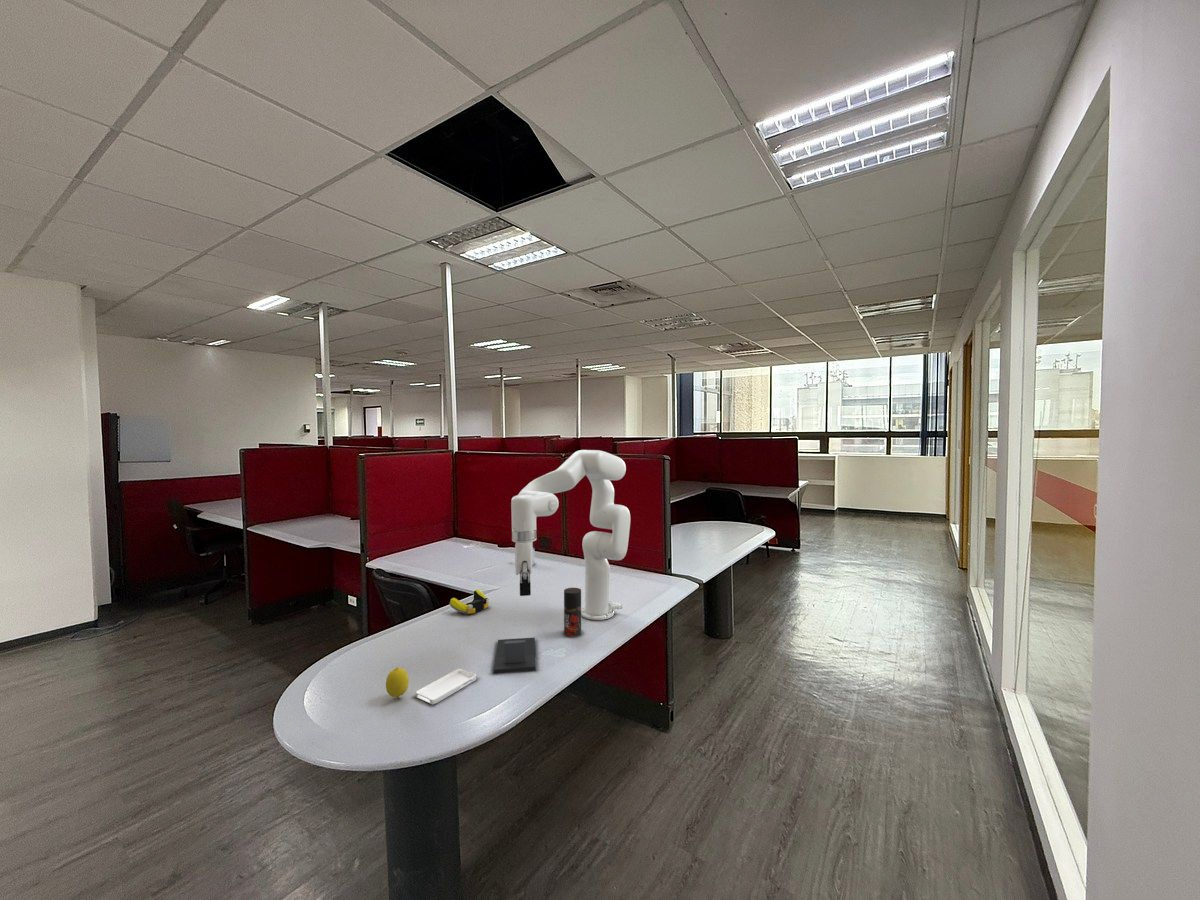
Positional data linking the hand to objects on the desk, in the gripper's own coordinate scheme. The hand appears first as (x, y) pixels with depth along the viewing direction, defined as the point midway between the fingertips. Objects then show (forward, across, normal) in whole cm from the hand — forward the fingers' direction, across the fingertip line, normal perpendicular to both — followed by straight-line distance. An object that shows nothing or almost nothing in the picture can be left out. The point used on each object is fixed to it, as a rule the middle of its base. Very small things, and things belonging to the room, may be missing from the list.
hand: (525, 589), depth 148 cm
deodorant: (+21, -13, +16) cm, 30 cm away
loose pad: (+20, +5, -3) cm, 21 cm away
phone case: (+20, +16, -21) cm, 34 cm away
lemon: (+20, +19, -33) cm, 43 cm away
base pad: (+20, -3, -3) cm, 21 cm away
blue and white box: (+22, -102, +1) cm, 105 cm away
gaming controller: (+21, -42, -21) cm, 51 cm away
